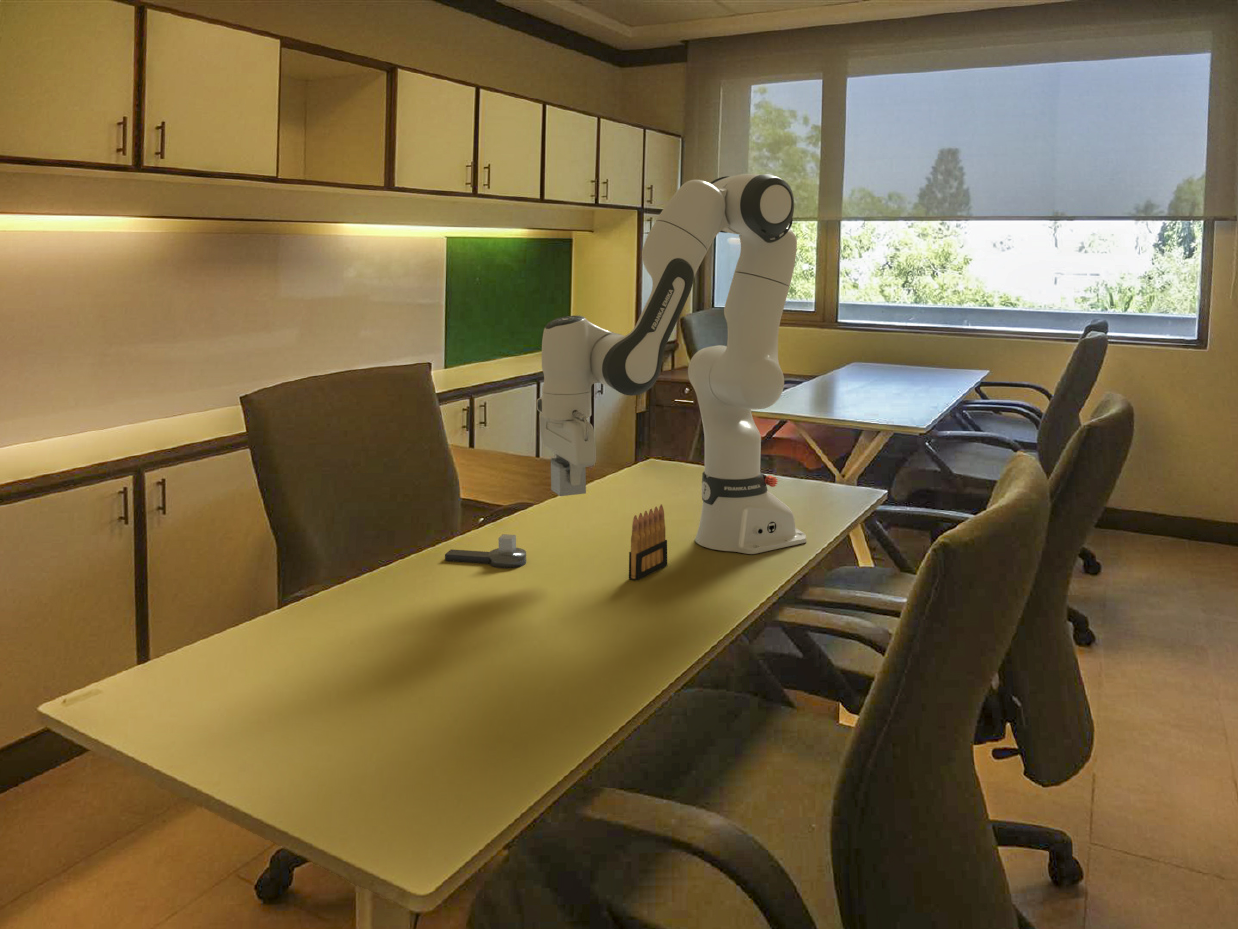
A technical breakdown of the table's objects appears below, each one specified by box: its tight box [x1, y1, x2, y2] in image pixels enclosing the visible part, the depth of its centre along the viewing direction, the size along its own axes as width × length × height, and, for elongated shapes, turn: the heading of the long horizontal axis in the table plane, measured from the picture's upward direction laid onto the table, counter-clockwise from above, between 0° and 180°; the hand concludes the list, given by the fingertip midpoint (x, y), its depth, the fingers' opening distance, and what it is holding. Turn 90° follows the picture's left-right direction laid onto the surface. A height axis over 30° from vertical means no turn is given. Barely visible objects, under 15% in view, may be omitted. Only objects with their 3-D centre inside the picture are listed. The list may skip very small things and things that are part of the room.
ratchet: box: [444, 534, 527, 570], centre depth 204 cm, size 16×7×5 cm, turn 78°
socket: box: [550, 457, 587, 497], centre depth 198 cm, size 5×5×6 cm
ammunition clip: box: [628, 504, 668, 582], centre depth 197 cm, size 11×2×12 cm, turn 146°
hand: (568, 480), depth 198 cm, fingers closed on socket, 5 cm apart
